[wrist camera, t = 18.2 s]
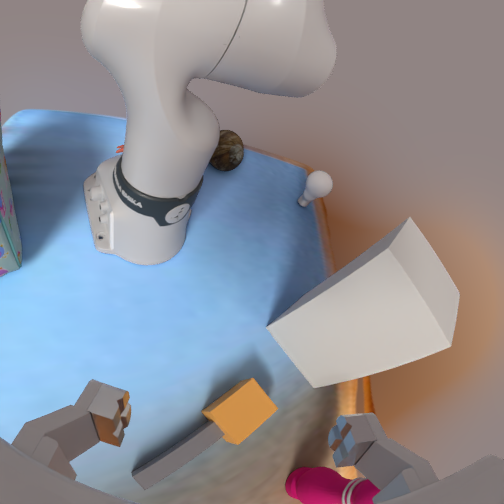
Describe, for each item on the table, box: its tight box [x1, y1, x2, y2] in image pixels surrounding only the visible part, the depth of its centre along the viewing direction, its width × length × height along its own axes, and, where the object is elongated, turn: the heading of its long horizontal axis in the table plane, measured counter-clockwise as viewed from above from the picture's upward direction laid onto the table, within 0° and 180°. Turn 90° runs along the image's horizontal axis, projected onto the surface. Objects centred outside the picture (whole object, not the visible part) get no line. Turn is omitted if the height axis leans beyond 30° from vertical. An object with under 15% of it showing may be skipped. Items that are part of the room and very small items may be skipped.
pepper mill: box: [285, 467, 381, 504], centre depth 24 cm, size 7×7×20 cm
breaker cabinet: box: [266, 217, 460, 388], centre depth 38 cm, size 14×13×26 cm
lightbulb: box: [298, 170, 333, 207], centre depth 63 cm, size 6×6×11 cm
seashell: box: [210, 130, 244, 171], centre depth 59 cm, size 11×9×8 cm
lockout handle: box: [131, 378, 278, 490], centre depth 29 cm, size 6×22×4 cm, turn 130°
